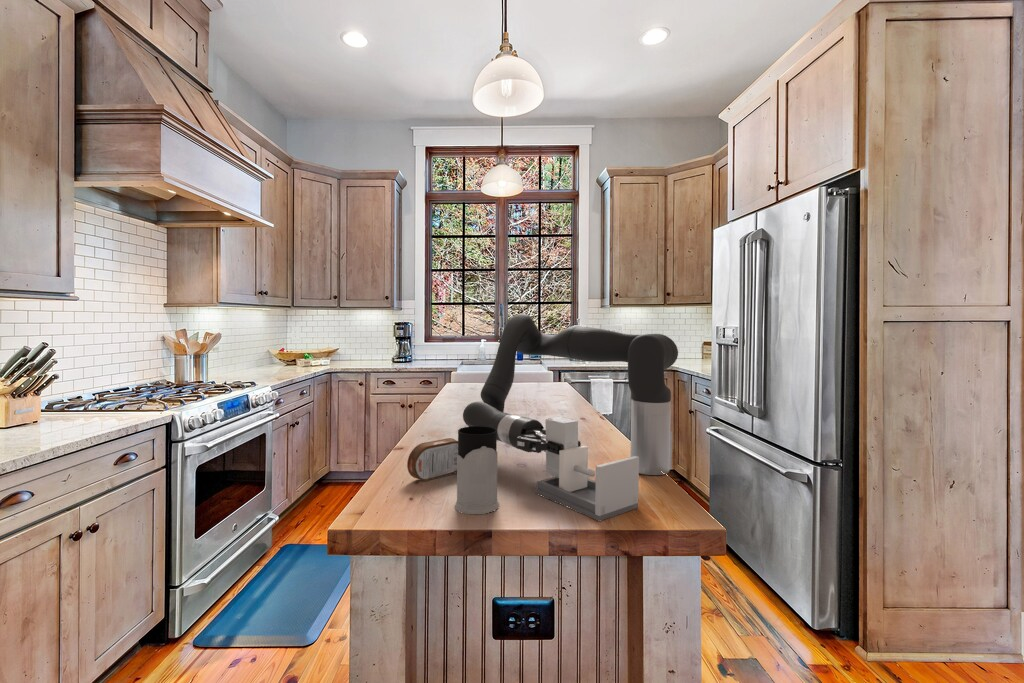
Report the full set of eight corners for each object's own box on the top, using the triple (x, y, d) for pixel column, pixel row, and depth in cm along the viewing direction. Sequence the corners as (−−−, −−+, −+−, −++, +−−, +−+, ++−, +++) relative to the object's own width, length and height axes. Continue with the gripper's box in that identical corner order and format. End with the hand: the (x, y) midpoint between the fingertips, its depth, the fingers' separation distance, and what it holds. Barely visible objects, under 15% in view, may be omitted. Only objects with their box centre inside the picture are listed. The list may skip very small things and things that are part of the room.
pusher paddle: (583, 485, 106) (583, 445, 105) (604, 493, 101) (605, 451, 101) (558, 492, 102) (559, 450, 101) (579, 500, 97) (580, 457, 96)
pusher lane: (573, 483, 111) (573, 439, 111) (638, 507, 97) (638, 457, 96) (535, 493, 104) (535, 446, 104) (599, 521, 90) (599, 467, 90)
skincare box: (579, 477, 105) (580, 420, 104) (564, 481, 102) (565, 423, 102) (558, 470, 110) (559, 415, 109) (543, 473, 107) (544, 418, 106)
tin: (459, 468, 122) (459, 434, 121) (467, 471, 119) (467, 436, 119) (406, 482, 111) (406, 445, 111) (414, 486, 109) (414, 448, 108)
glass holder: (461, 517, 91) (461, 437, 91) (442, 492, 105) (442, 421, 104) (506, 511, 95) (506, 433, 94) (482, 487, 108) (482, 419, 107)
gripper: (495, 420, 113) (545, 435, 99) (543, 413, 121) (595, 426, 108) (495, 452, 113) (545, 472, 99) (543, 443, 122) (594, 460, 108)
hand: (570, 448), depth 104 cm, fingers closed on skincare box, 4 cm apart
